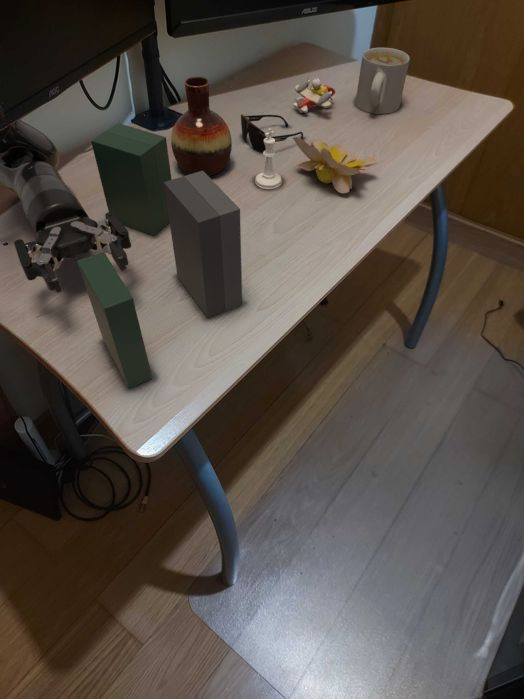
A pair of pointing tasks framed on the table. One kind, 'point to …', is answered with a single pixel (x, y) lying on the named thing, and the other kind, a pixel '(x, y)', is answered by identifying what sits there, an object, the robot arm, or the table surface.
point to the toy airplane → (313, 95)
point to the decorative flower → (332, 163)
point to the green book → (116, 318)
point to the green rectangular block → (134, 176)
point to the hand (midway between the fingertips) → (91, 275)
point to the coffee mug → (382, 80)
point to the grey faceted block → (205, 241)
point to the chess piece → (268, 166)
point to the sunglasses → (260, 131)
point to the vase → (200, 133)
